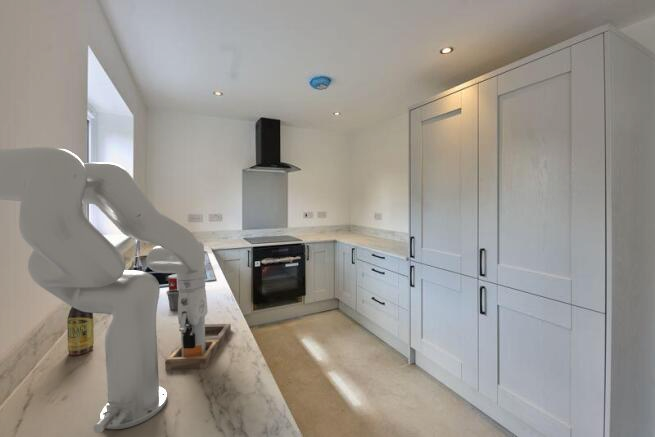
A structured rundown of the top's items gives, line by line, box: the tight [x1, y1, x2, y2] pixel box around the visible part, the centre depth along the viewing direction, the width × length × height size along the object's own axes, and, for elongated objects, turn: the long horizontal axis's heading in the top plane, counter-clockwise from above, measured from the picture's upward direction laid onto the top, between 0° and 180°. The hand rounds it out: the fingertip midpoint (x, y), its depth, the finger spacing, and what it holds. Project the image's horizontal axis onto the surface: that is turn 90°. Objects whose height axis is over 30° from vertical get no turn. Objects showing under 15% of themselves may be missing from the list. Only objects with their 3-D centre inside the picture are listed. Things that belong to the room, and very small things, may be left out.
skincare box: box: [180, 315, 206, 357], centre depth 86 cm, size 6×4×12 cm
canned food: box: [167, 273, 177, 291], centre depth 142 cm, size 8×8×11 cm
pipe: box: [165, 289, 179, 311], centre depth 126 cm, size 6×13×8 cm, turn 77°
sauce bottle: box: [66, 306, 95, 356], centre depth 90 cm, size 6×6×20 cm
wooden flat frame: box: [164, 323, 232, 371], centre depth 92 cm, size 24×11×3 cm, turn 2°
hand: (193, 342), depth 86 cm, fingers closed on skincare box, 5 cm apart
